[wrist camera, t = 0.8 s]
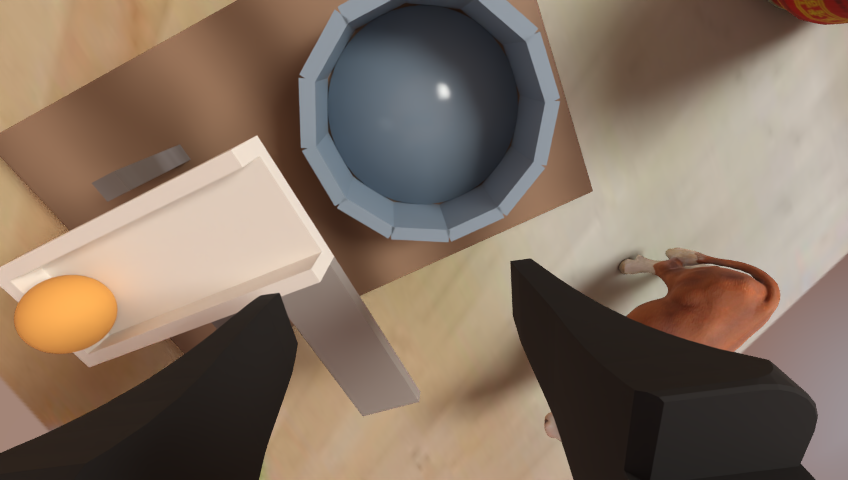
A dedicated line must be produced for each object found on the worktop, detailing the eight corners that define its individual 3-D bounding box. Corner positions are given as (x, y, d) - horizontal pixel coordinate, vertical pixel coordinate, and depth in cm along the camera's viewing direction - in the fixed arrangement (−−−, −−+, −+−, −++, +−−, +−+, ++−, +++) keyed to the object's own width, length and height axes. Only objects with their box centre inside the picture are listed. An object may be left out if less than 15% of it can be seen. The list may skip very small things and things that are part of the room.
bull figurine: (505, 353, 27) (548, 464, 20) (673, 212, 24) (802, 281, 16) (546, 385, 29) (601, 500, 21) (710, 256, 25) (844, 338, 18)
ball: (103, 325, 18) (39, 378, 15) (50, 272, 17) (-28, 320, 14) (149, 308, 17) (90, 361, 15) (97, 250, 16) (22, 297, 13)
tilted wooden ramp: (234, 424, 23) (206, 475, 21) (55, 237, 18) (-13, 273, 16) (422, 372, 20) (416, 424, 18) (271, 127, 15) (230, 149, 12)
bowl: (378, 244, 22) (376, 275, 19) (271, 56, 18) (245, 56, 15) (555, 162, 21) (584, 181, 18) (483, -58, 17) (505, -85, 14)
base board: (205, 357, 25) (154, 439, 20) (5, 136, 19) (-147, 167, 14) (584, 185, 23) (646, 226, 17) (488, -133, 17) (537, -227, 11)
